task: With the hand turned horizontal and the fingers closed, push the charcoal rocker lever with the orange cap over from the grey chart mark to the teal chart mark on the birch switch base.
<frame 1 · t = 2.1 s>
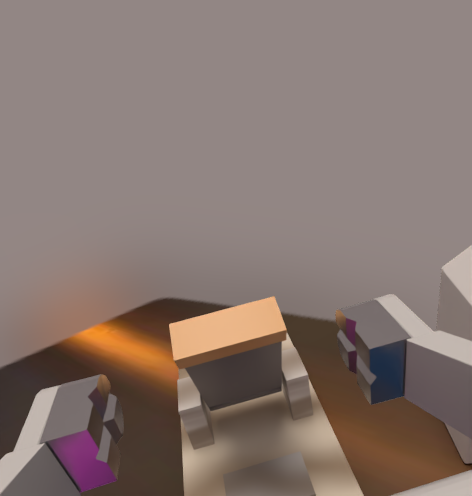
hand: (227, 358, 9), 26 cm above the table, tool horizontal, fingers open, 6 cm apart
rocker lever: (236, 365, 29), point 11 cm above the table, hinge at -24.0°
switch base: (252, 425, 36), on the table
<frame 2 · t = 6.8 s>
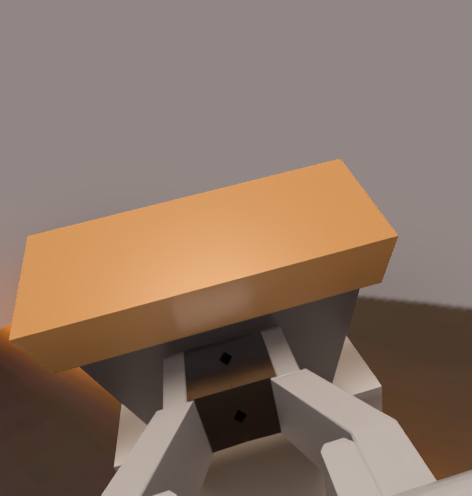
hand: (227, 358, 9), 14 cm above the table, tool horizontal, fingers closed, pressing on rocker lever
rocker lever: (235, 365, 13), point 11 cm above the table, hinge at -22.8°, touching gripper
switch base: (266, 478, 20), on the table
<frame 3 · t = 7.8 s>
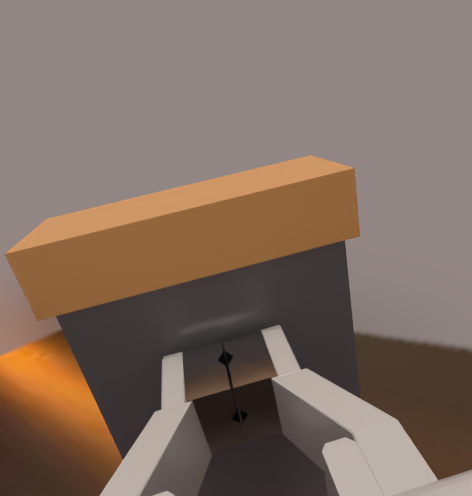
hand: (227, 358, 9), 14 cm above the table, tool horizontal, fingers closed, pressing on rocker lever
rocker lever: (241, 411, 11), point 12 cm above the table, hinge at 4.9°, touching gripper
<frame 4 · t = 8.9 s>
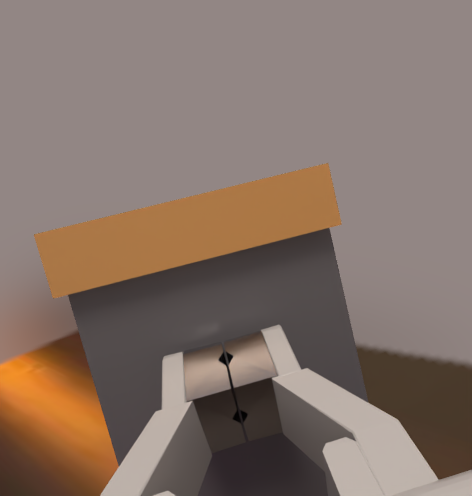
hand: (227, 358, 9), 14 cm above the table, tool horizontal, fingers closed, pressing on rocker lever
rocker lever: (247, 431, 11), point 11 cm above the table, hinge at 22.0°, touching gripper
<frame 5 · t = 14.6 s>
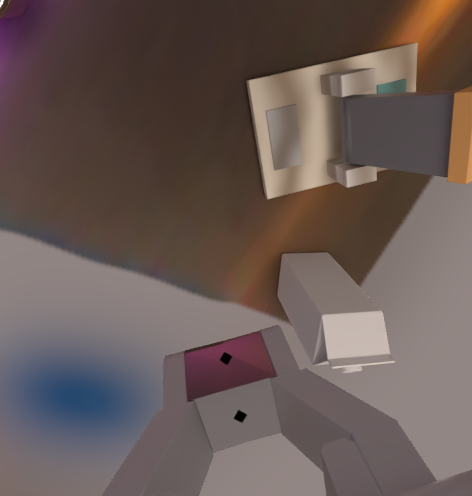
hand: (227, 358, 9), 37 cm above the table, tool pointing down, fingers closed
rocker lever: (402, 132, 35), point 11 cm above the table, hinge at 22.3°
switch base: (333, 123, 45), on the table
milk carton: (301, 272, 54), on the table
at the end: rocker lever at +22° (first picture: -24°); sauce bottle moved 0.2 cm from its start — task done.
